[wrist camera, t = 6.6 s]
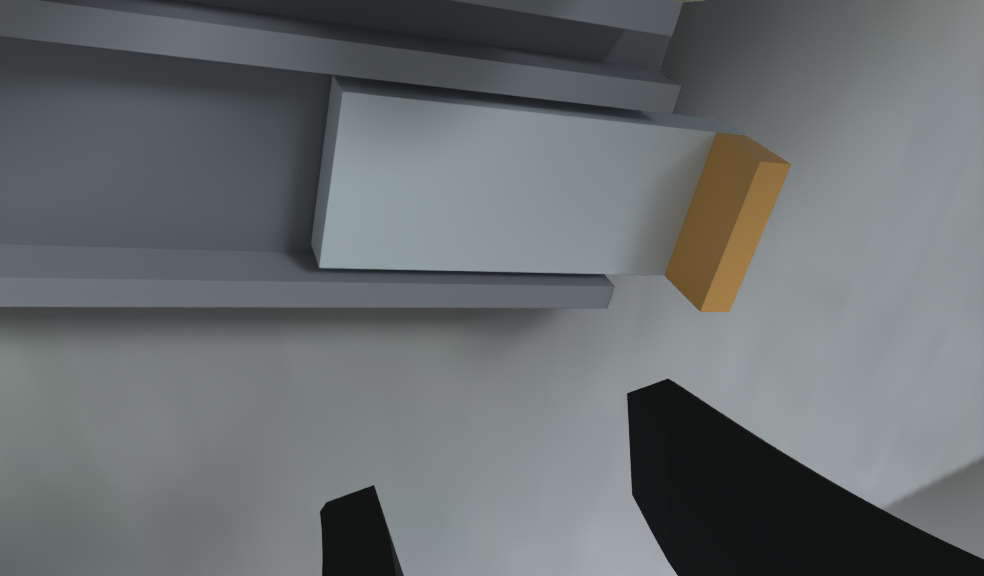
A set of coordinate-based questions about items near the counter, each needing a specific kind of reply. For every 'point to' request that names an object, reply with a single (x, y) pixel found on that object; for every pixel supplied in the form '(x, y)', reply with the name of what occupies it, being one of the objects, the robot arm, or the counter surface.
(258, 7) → the housing
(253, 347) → the counter surface
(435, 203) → the lid
